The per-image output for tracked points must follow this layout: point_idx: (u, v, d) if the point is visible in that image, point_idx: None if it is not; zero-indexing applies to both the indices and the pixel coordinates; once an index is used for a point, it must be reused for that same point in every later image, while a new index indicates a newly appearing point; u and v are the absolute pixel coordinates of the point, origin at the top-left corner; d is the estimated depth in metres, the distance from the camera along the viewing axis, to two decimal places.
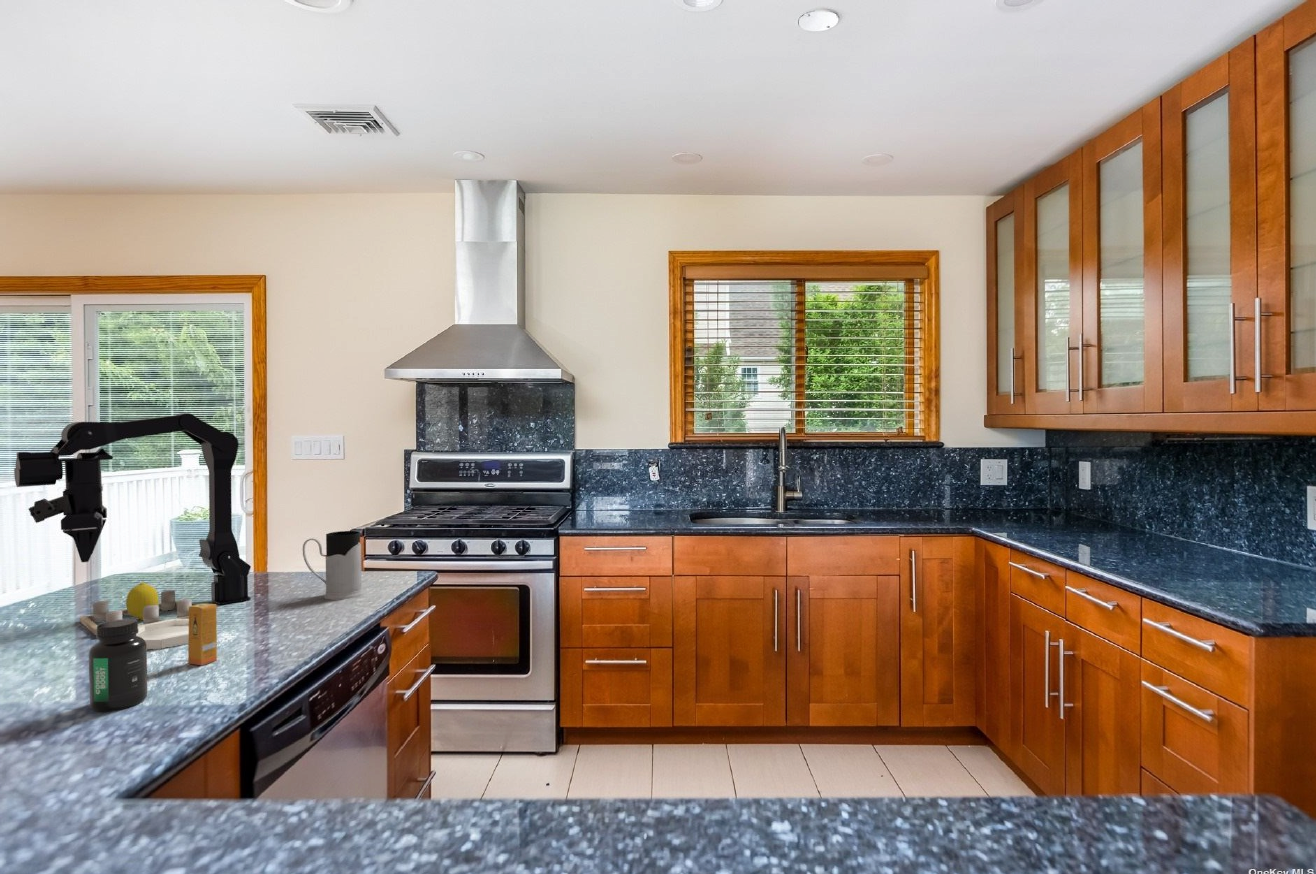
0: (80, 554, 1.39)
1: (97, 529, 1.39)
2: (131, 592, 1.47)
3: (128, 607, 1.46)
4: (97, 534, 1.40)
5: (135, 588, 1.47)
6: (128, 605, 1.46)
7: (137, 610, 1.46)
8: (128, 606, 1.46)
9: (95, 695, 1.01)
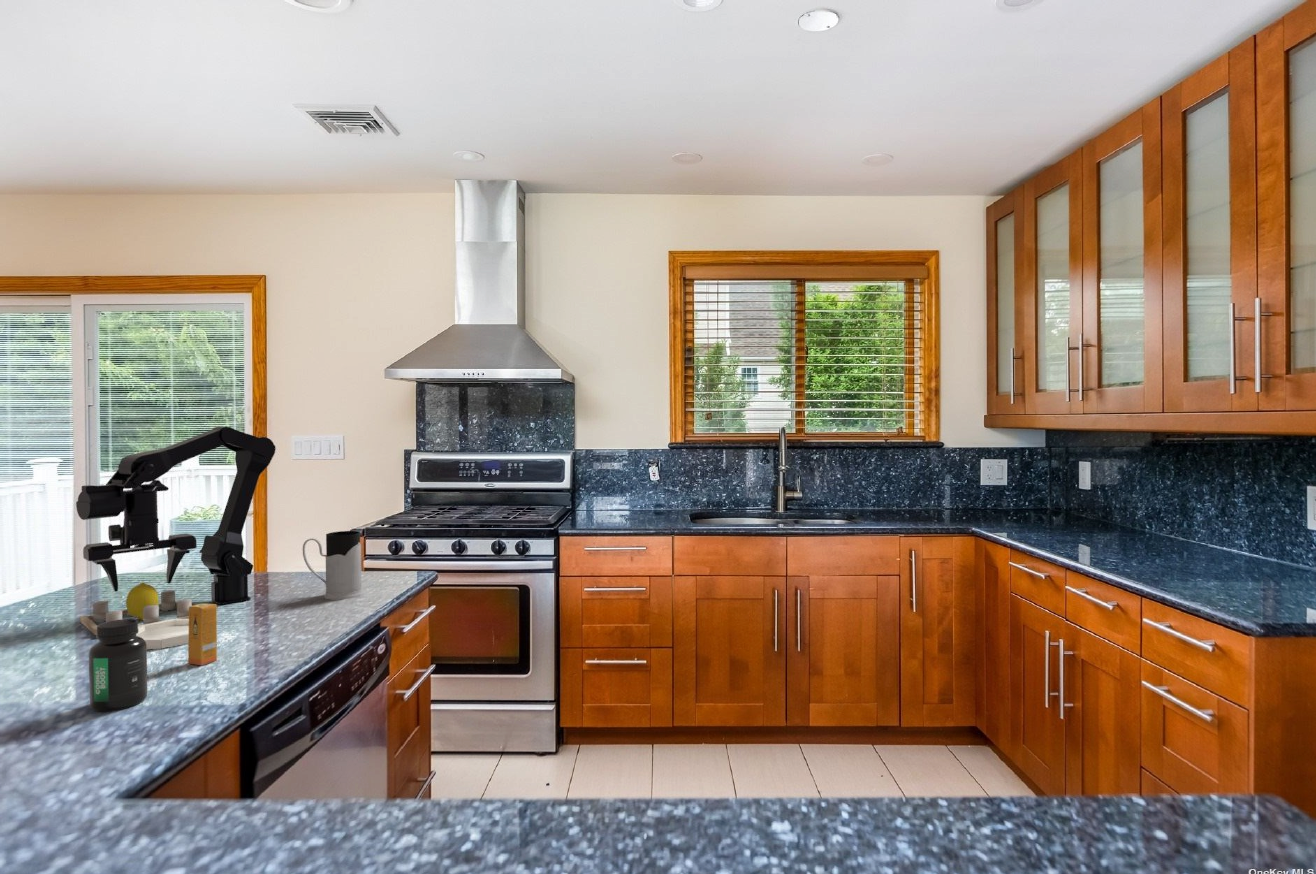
0: None
1: (96, 562, 1.41)
2: (131, 592, 1.47)
3: (128, 607, 1.46)
4: None
5: (135, 588, 1.47)
6: (128, 605, 1.46)
7: (137, 610, 1.46)
8: (128, 606, 1.46)
9: (95, 695, 1.01)
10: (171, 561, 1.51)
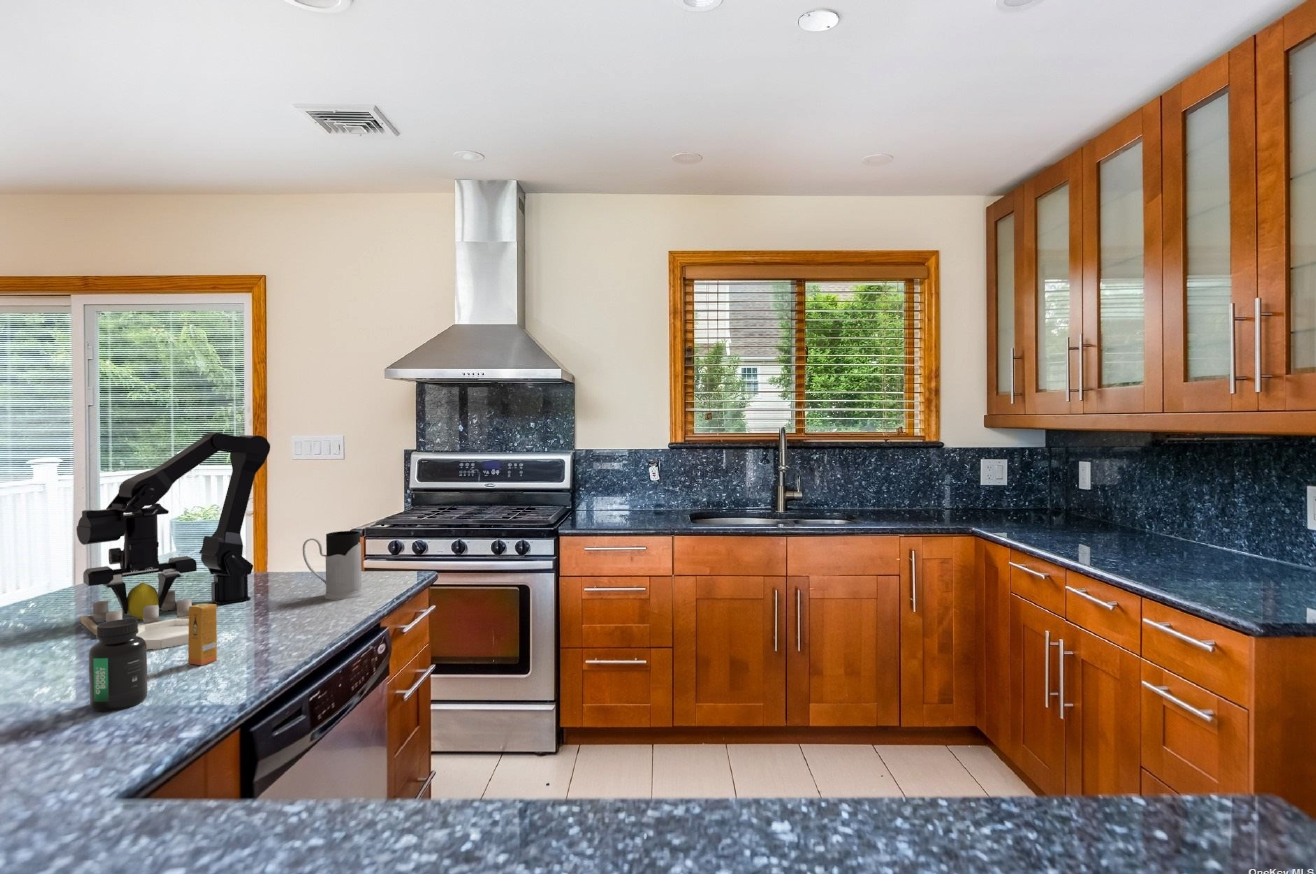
0: None
1: (107, 586, 1.42)
2: (131, 592, 1.47)
3: (128, 607, 1.46)
4: None
5: (135, 588, 1.47)
6: (128, 605, 1.46)
7: (137, 610, 1.46)
8: (128, 606, 1.46)
9: (95, 695, 1.01)
10: (162, 586, 1.50)
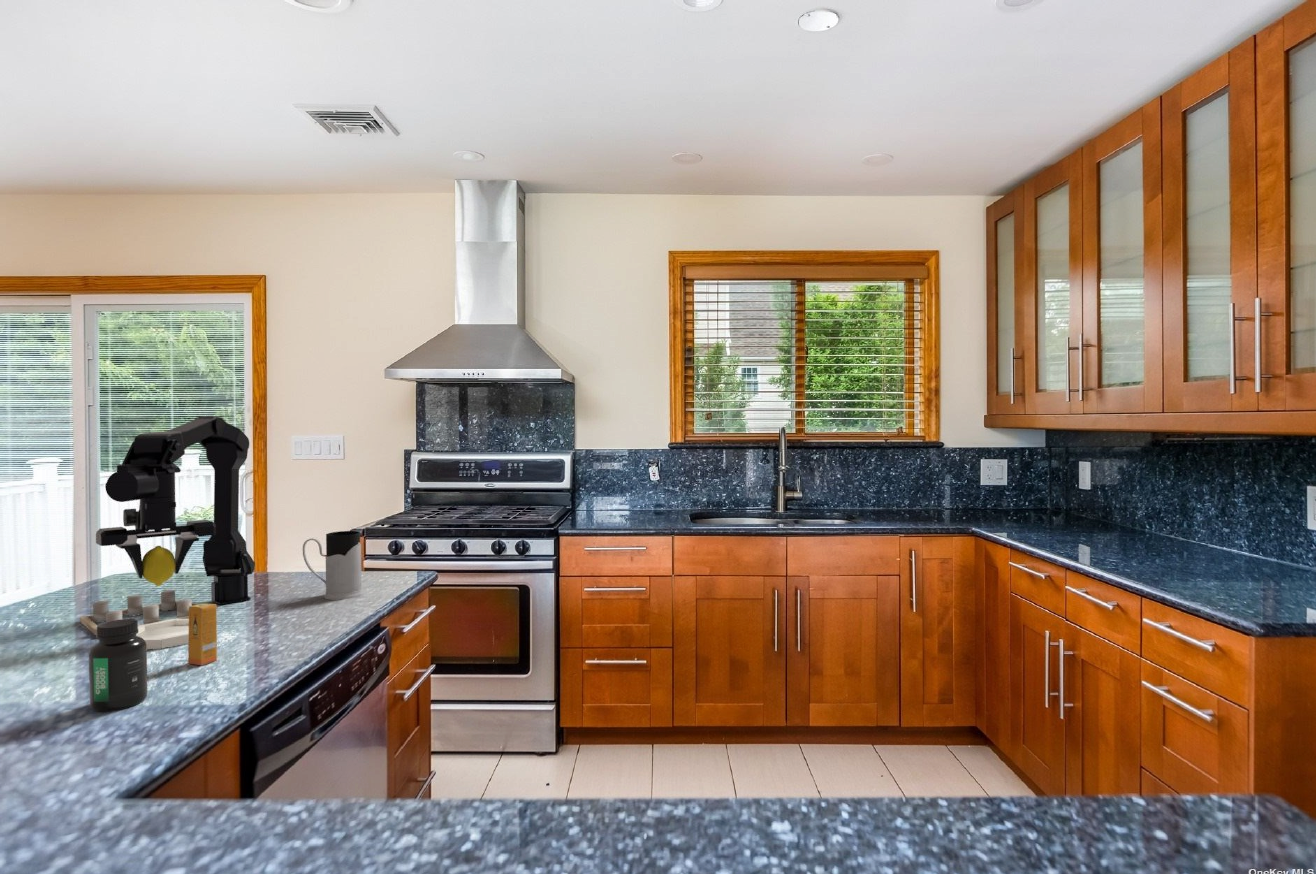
0: (135, 569, 1.36)
1: (120, 547, 1.32)
2: (146, 555, 1.37)
3: (143, 571, 1.36)
4: None
5: (151, 551, 1.37)
6: (143, 568, 1.36)
7: (152, 574, 1.36)
8: (143, 570, 1.36)
9: (95, 695, 1.01)
10: (179, 549, 1.40)
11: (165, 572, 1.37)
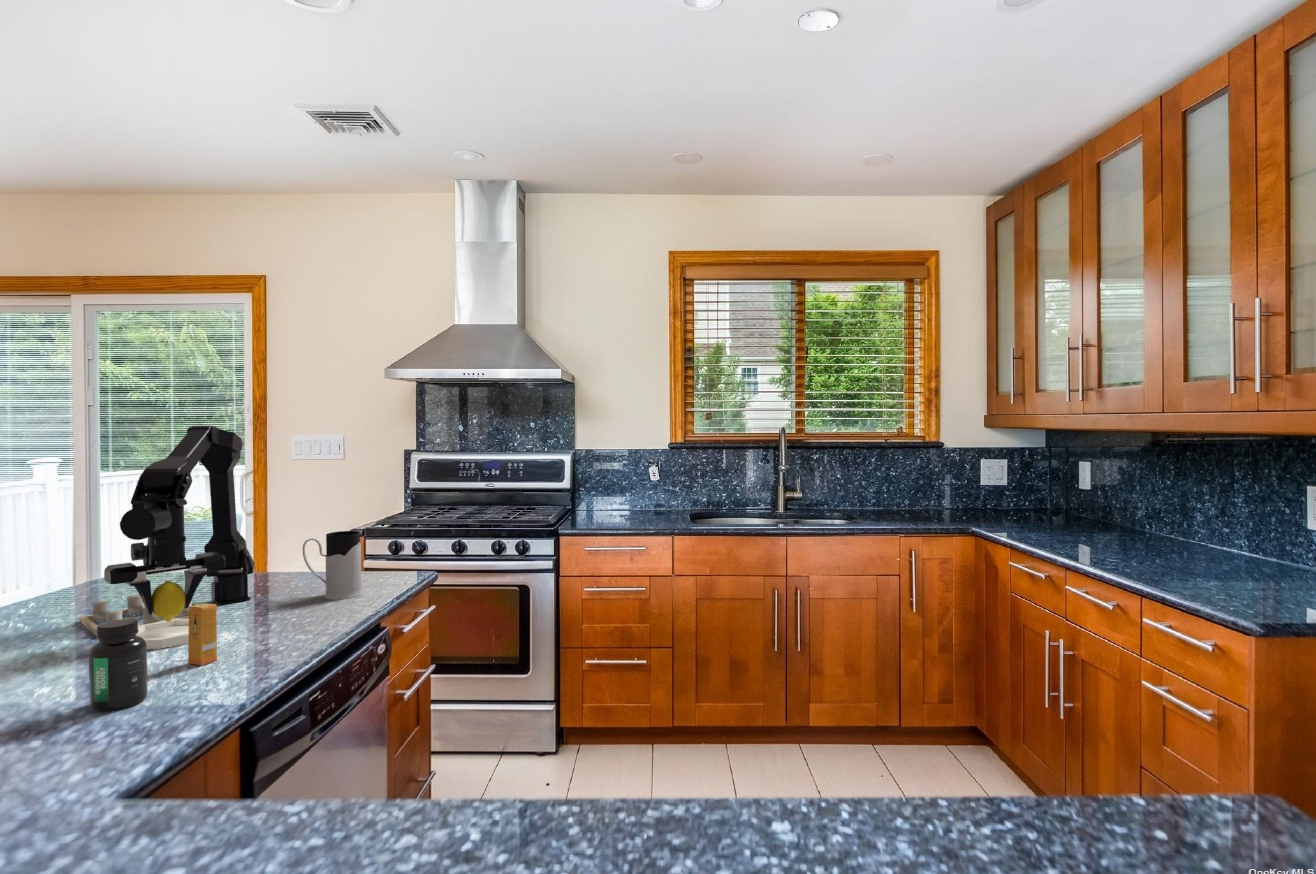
0: None
1: (130, 584, 1.30)
2: (156, 591, 1.34)
3: (153, 607, 1.34)
4: None
5: (160, 586, 1.35)
6: None
7: (163, 610, 1.34)
8: (153, 606, 1.34)
9: (95, 695, 1.01)
10: (189, 584, 1.37)
11: (176, 608, 1.35)
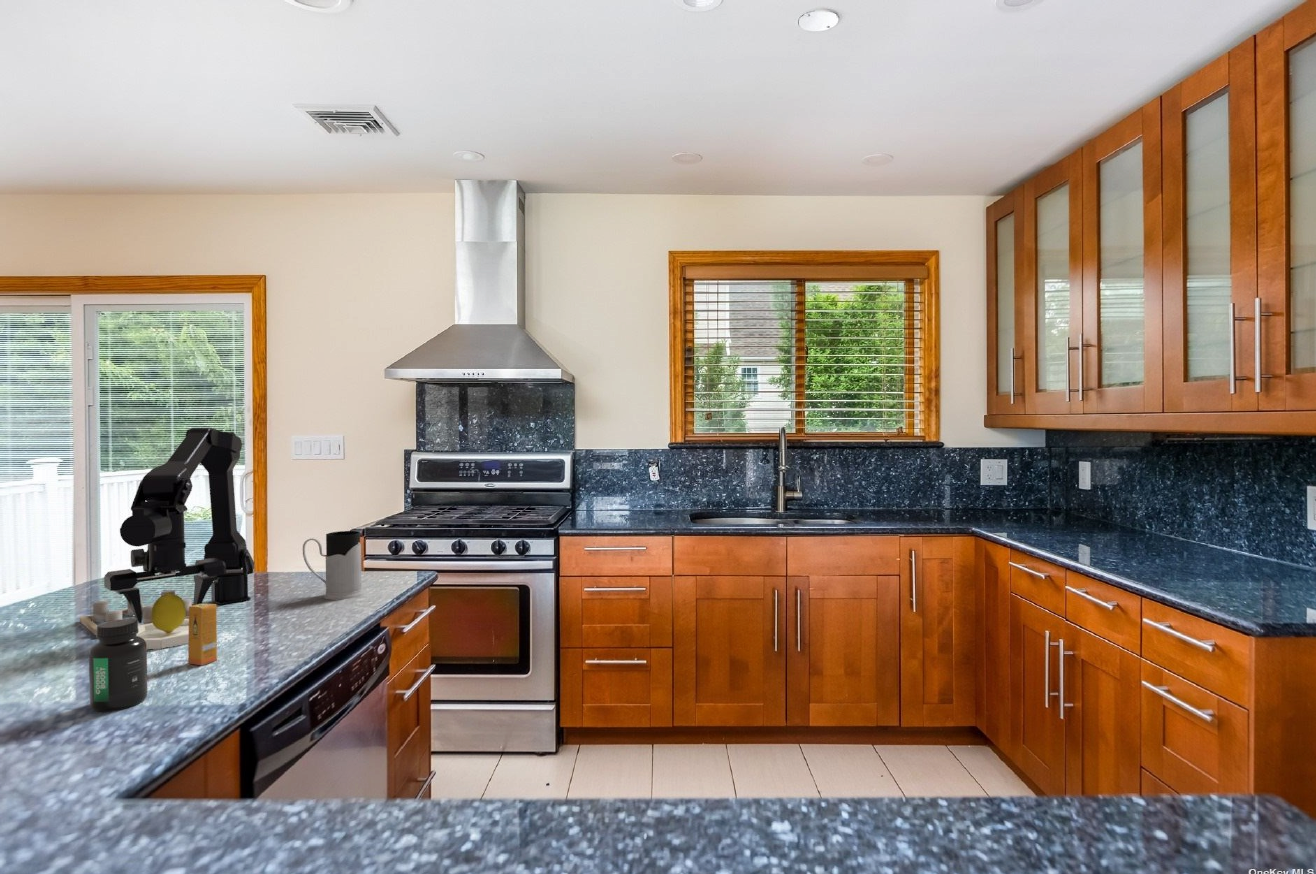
0: None
1: (119, 592, 1.28)
2: (157, 603, 1.34)
3: (153, 619, 1.34)
4: None
5: (161, 598, 1.35)
6: (153, 617, 1.34)
7: (163, 622, 1.34)
8: (153, 618, 1.34)
9: (95, 695, 1.01)
10: (199, 589, 1.39)
11: (176, 620, 1.35)
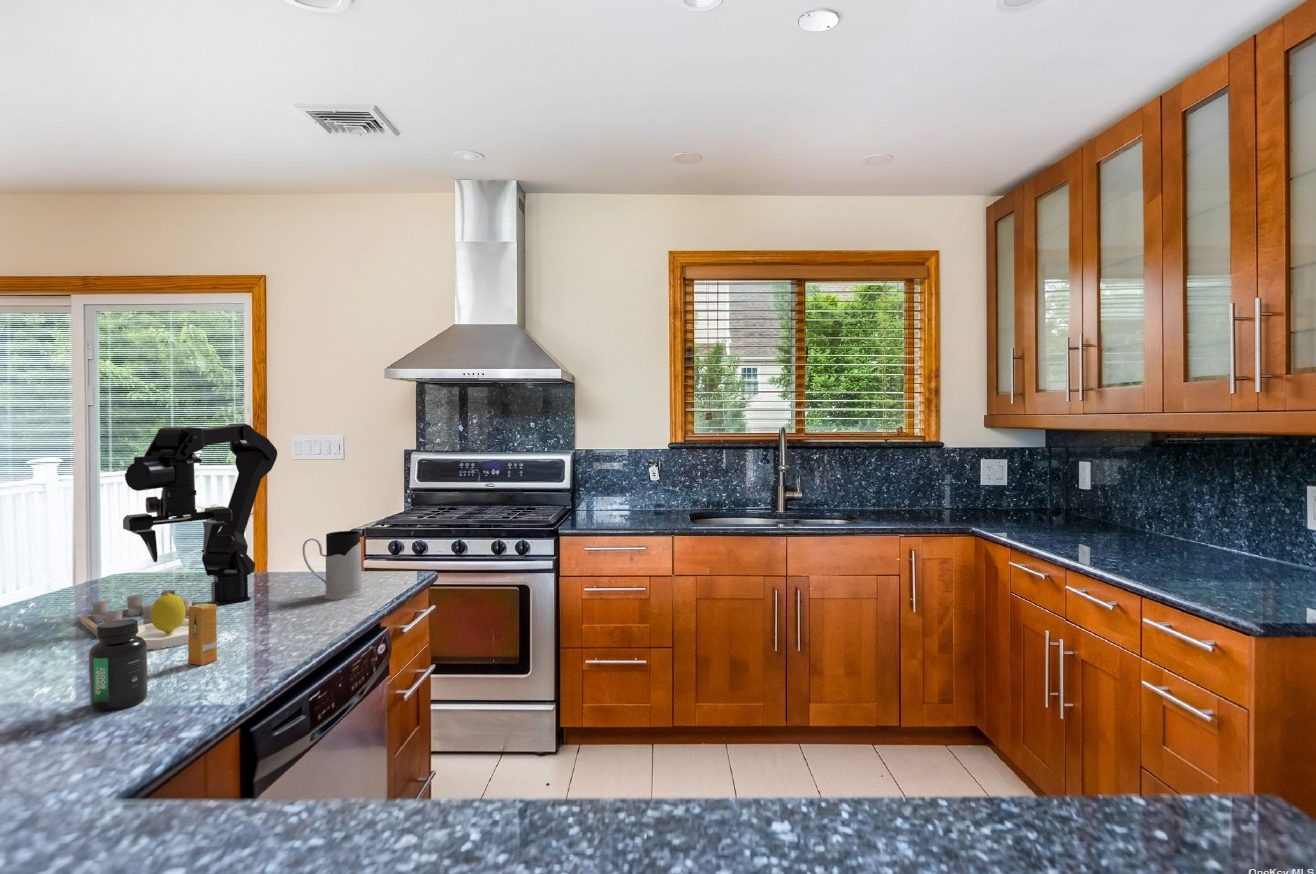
0: (150, 553, 1.46)
1: (137, 533, 1.42)
2: (156, 603, 1.34)
3: (153, 620, 1.34)
4: None
5: (161, 599, 1.35)
6: (153, 617, 1.34)
7: (163, 623, 1.34)
8: (153, 619, 1.34)
9: (95, 695, 1.01)
10: (208, 533, 1.52)
11: (176, 620, 1.35)
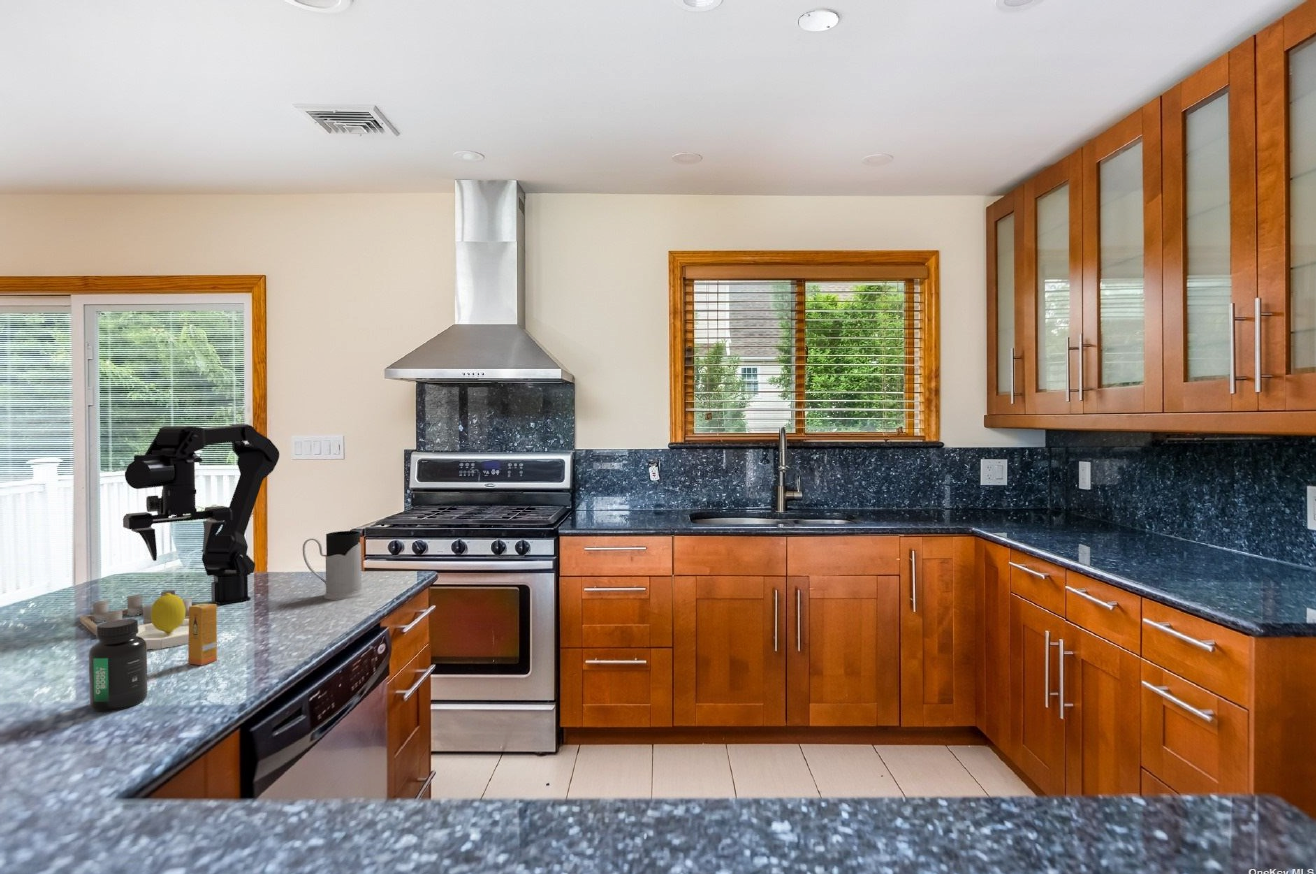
0: None
1: (136, 531, 1.42)
2: (156, 603, 1.34)
3: (153, 620, 1.34)
4: None
5: (160, 599, 1.35)
6: (153, 617, 1.34)
7: (163, 623, 1.34)
8: (153, 619, 1.34)
9: (95, 695, 1.01)
10: (208, 532, 1.53)
11: (176, 620, 1.35)
